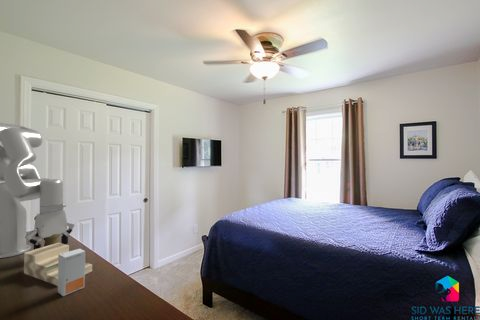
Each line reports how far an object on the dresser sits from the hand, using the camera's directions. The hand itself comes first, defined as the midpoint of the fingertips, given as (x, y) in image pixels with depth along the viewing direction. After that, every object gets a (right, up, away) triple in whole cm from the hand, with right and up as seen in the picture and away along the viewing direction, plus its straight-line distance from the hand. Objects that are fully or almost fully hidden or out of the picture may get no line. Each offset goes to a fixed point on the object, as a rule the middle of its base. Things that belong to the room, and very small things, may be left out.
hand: (51, 249), depth 94 cm
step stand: (+12, -4, -12) cm, 18 cm away
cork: (0, -4, 0) cm, 4 cm away
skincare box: (+26, -4, -23) cm, 35 cm away
